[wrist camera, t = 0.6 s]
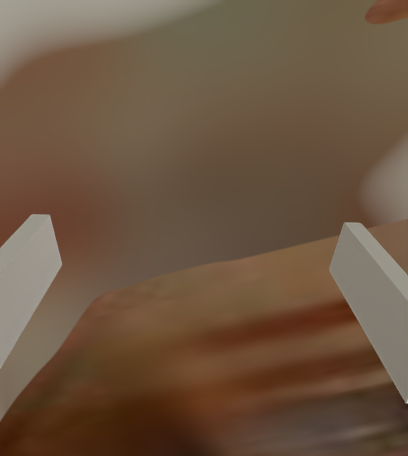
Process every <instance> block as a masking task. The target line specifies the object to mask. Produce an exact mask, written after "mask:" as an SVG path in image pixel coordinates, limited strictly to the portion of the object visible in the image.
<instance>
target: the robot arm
mask: <svg viewBox="0 0 408 456" xmlns="http://www.w3.org/2000/svg"><path fill="white" fill-rule="evenodd" d="M61 266H62V262H61V258H60V254H59V250H58V246H57V242H56V238H55V234H54V230H53V226H52V222H51V218H50V215H36V214H35V215H33V214H32V215H31V216H30V217H29V218H28V219H27V220H26V221H25V222H24V223H23V225H22V226H20V228H19V229H18V230H17V231H16V232H15V233H14V234H13V235H12V236H11V237H10V238H9V239H8V240H7V241H6V243H5V244H4V245H3V246H2V247H1V248H0V369H1V367H2V365H3V364H4V362H5V360H6V359H7V357H8V355H9V354H10V352H11V350H12V349H13V347H14V345H15V344H16V342H17V340H18V338H19V337H20V335H21V333H22V332H23V330H24V328H25V327H26V325H27V323H28V322H29V320H30V318H31V317H32V315H33V313H34V311H35V310H36V308H37V306H38V305H39V303H40V301H41V300H42V298H43V296H44V294H45V293H46V291H47V290H48V288H49V286H50V284H51V283H52V281H53V279H54V278H55V276H56V274H57V273H58V271H59V269H60V268H61ZM329 271H330V273H331V275H332V276H333V278H334V280H335V282H336V283H337V285H338V287H339V288H340V290H341V292H342V294H343V295H344V297H345V299H346V301H347V302H348V304H349V306H350V308H351V309H352V311H353V313H354V314H355V316H356V318H357V320H358V321H359V323H360V325H361V327H362V328H363V330H364V332H365V334H366V335H367V337H368V339H369V340H370V342H371V344H372V346H373V347H374V349H375V351H376V353H377V354H378V356H379V358H380V360H381V361H382V363H383V365H384V366H385V368H386V370H387V372H388V373H389V375H390V377H391V379H392V380H393V382H394V384H395V385H396V387H397V389H398V391H399V392H400V394H401V396H402V398H403V399H404V401H405V403H408V275H407V274H406V273H405V272H404V271H403V270H402V268H401V267H400V266H399V265H398V264H397V263H396V262H395V261H394V260H393V258H392V257H391V256H390V255H389V254H388V253H387V252H386V251H385V250H384V248H383V247H382V246H381V245H380V244H379V243H378V242H377V241H376V239H375V238H374V237H373V236H372V235H371V234H370V233H369V232H368V231H367V229H366V228H365V227H364V226H363V225H362V224H361V223H344V225H343V228H342V231H341V234H340V237H339V240H338V243H337V246H336V249H335V252H334V255H333V258H332V261H331V265H330V268H329Z"/></svg>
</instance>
